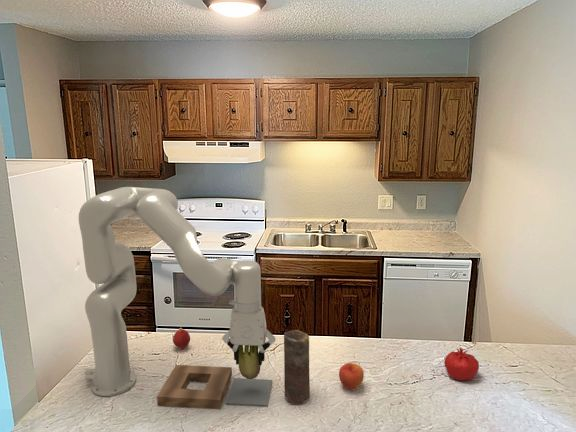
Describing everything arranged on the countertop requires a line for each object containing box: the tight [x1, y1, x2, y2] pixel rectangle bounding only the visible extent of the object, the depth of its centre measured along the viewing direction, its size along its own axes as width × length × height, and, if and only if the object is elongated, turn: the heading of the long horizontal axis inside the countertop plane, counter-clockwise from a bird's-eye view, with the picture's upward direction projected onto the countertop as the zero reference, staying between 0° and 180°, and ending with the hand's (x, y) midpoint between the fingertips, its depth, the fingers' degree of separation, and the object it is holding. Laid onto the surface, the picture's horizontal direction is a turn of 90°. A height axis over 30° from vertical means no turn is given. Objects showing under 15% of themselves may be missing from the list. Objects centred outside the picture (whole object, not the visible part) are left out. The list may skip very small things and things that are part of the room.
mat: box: [225, 377, 273, 408], centre depth 125 cm, size 12×12×1 cm
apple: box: [338, 362, 365, 391], centre depth 127 cm, size 7×7×8 cm
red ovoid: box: [172, 327, 191, 350], centre depth 149 cm, size 6×6×8 cm
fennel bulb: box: [238, 345, 261, 379], centre depth 123 cm, size 6×5×12 cm
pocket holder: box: [156, 364, 233, 410], centre depth 126 cm, size 18×16×3 cm
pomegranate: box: [443, 347, 480, 381], centre depth 133 cm, size 10×10×9 cm
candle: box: [283, 329, 311, 405], centre depth 121 cm, size 8×7×20 cm
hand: (249, 361), depth 123 cm, fingers closed on fennel bulb, 6 cm apart
